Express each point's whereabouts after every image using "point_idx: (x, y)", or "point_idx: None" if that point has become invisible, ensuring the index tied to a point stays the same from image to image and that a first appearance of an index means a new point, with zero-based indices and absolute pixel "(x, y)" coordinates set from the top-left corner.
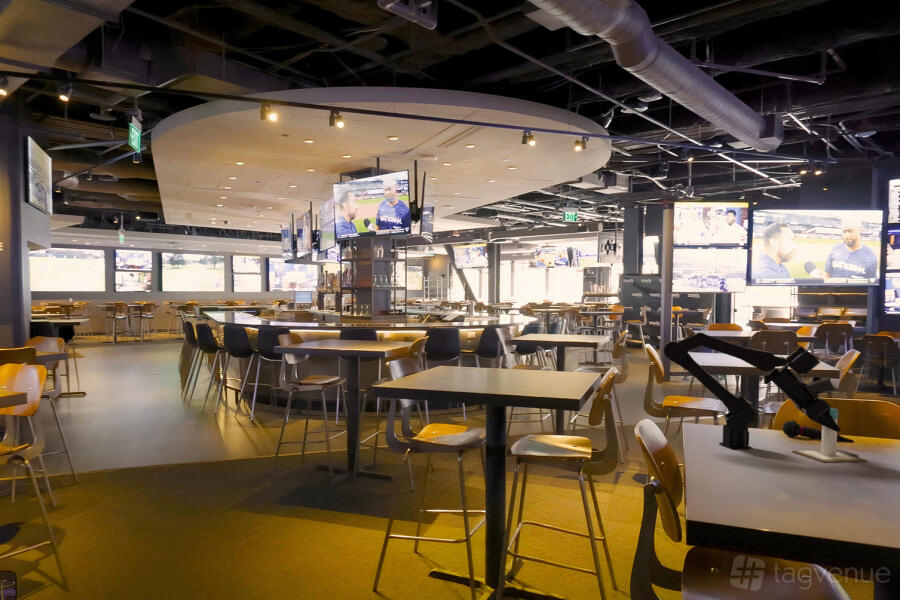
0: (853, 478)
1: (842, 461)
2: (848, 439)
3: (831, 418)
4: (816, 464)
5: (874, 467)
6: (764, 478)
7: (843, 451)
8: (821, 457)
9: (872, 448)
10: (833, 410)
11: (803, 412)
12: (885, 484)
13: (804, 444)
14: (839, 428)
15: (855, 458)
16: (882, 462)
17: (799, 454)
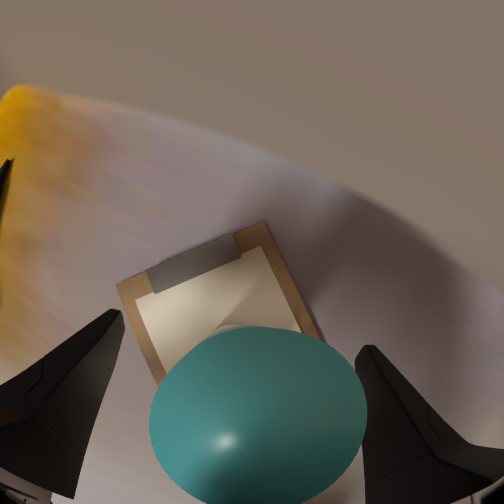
0: (469, 348)
1: (314, 327)
2: (2, 171)
3: (436, 422)
4: None
5: (348, 238)
6: None
7: (179, 270)
8: None
9: (65, 133)
10: (361, 413)
11: (71, 496)
12: (483, 290)
13: (43, 347)
14: (381, 352)
15: (268, 261)
16: (257, 174)
17: None
